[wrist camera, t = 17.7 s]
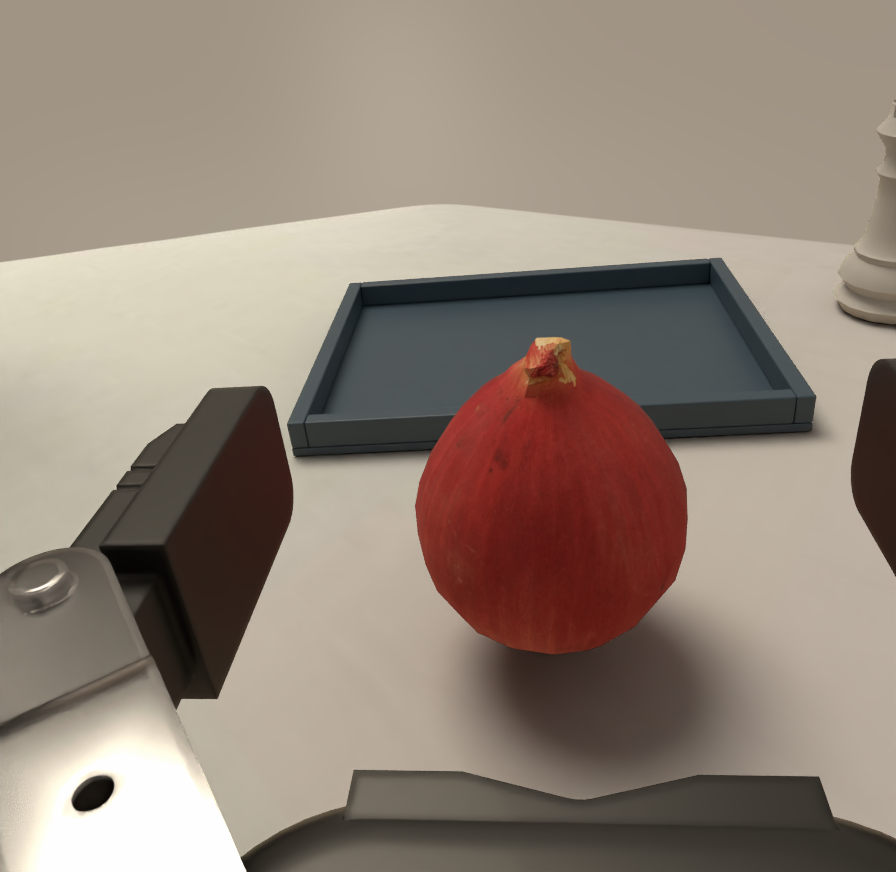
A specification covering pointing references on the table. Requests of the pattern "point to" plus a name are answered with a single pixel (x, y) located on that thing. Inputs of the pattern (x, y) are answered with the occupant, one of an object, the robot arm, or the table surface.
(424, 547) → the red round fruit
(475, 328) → the tray
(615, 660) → the table surface
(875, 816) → the table surface
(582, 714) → the table surface
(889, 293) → the rook chess piece
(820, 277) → the table surface
